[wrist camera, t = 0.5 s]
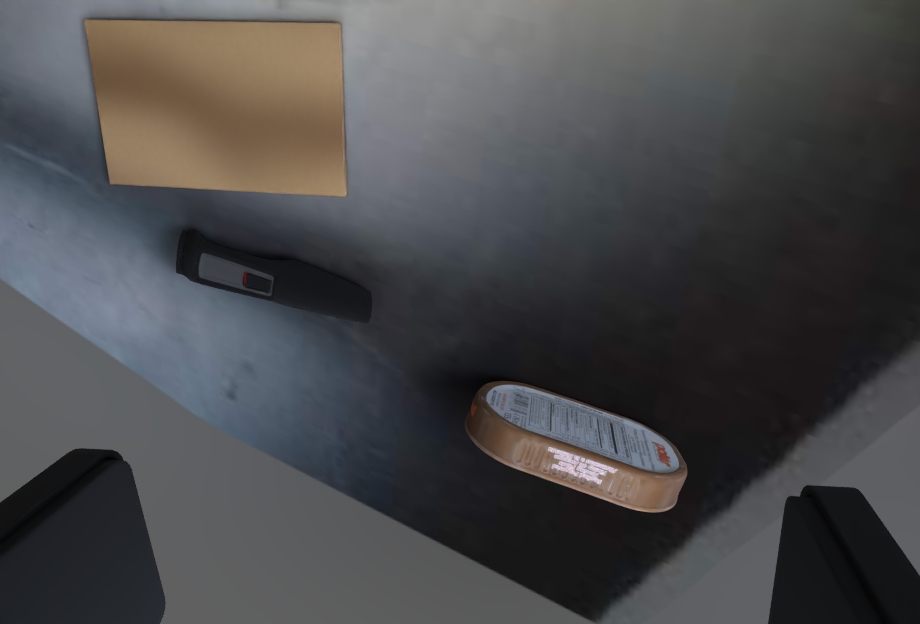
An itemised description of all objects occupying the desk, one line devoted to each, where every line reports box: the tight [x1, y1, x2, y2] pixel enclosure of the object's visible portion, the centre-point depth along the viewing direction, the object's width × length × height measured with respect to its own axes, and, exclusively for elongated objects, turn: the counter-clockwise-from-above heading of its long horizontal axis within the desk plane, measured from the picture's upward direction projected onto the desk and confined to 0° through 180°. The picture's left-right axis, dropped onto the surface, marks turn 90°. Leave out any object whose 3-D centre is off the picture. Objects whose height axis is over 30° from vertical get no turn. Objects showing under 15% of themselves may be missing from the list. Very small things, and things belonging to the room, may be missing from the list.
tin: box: [465, 381, 687, 512], centre depth 43 cm, size 15×3×8 cm, turn 74°
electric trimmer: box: [176, 229, 372, 323], centre depth 46 cm, size 4×16×3 cm, turn 76°
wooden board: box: [84, 20, 347, 197], centre depth 44 cm, size 11×18×1 cm, turn 88°
